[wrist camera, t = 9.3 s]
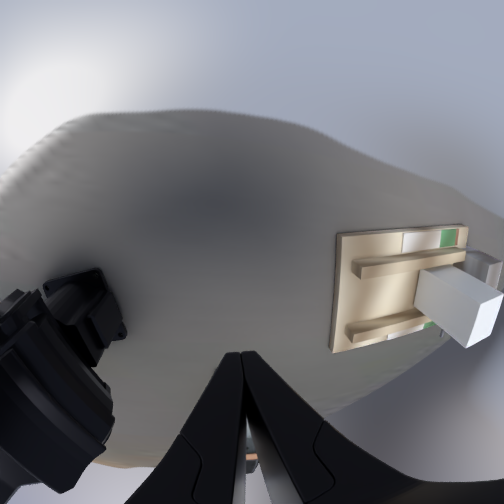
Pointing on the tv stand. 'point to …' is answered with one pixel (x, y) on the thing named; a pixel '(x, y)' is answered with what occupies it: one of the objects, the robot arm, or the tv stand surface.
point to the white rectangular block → (457, 303)
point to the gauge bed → (394, 280)
